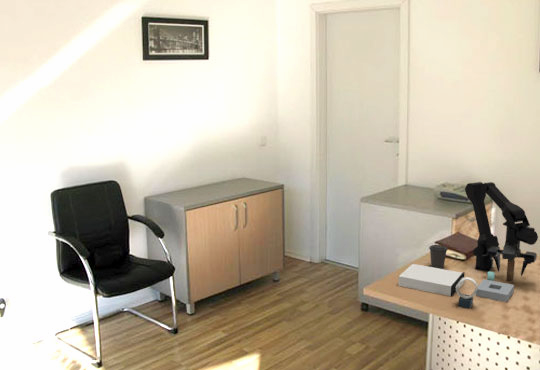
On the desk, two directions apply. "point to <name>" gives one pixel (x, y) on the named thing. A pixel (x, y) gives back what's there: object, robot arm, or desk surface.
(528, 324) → the desk surface
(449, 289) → the disc drive
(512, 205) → the robot arm
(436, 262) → the coffee cup
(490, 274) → the teal pin
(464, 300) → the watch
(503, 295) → the block
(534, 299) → the desk surface
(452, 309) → the desk surface
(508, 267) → the walnut pin
